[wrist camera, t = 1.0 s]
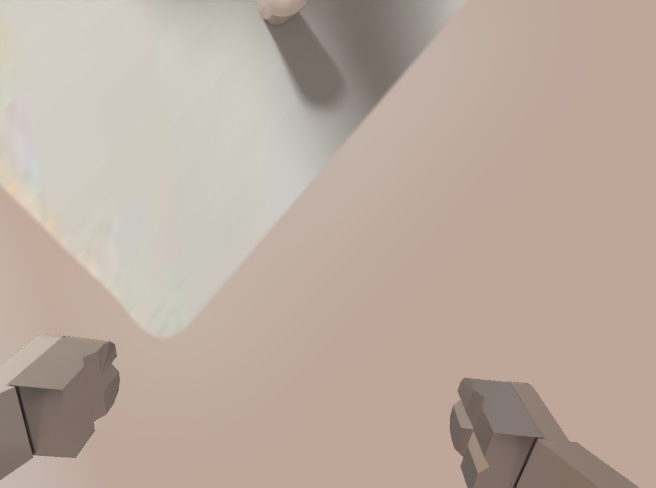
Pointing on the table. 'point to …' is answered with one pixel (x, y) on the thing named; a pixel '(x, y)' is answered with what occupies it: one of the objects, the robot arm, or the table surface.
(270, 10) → the milkshake
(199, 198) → the table surface
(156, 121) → the table surface
